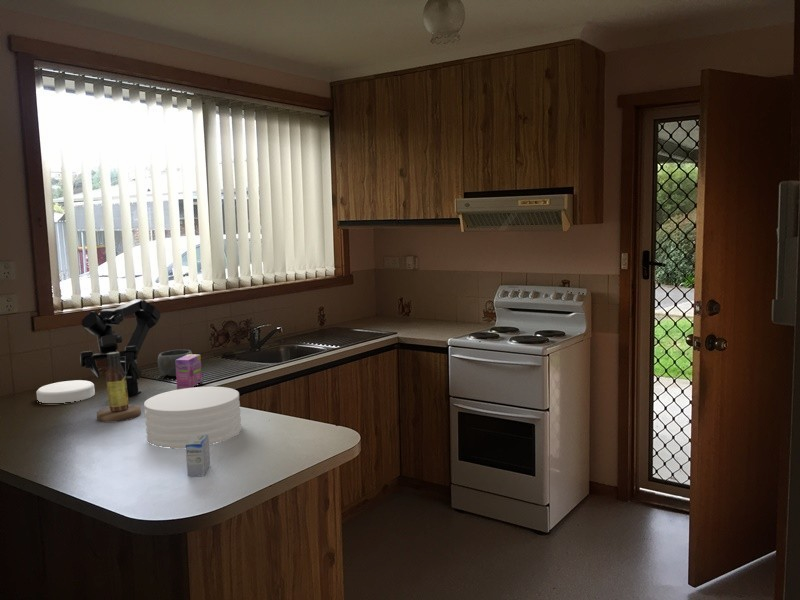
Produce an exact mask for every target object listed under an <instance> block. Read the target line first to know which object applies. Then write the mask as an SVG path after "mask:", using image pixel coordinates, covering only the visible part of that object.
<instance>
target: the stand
mask: <svg viewBox="0 0 800 600" xmlns="http://www.w3.org/2000/svg"><path fill="white" fill-rule="evenodd" d="M141 409H142V408H141V406H140V405H138V404H128V409H126V410H124V411H119V412H112V411H110V407H109V406H108V407H105V408H101V409H99V410H97V411H96V419H98V420H100V421H99V422H102V421H117V422H123V421H122V420H124V421H127V419H128V420H132V419H135V418H137V417H139V416H141V414H142V410H141ZM134 417H135V418H134ZM131 418H132V419H131ZM98 420H97V421H98Z"/></svg>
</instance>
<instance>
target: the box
mask: <svg viewBox="0 0 800 600" xmlns="http://www.w3.org/2000/svg"><path fill="white" fill-rule="evenodd" d="M201 359H202V358H201V354H198V353H197V354H196V353H195V354H188V355H186V356H183V357H181V358H179V359H176V360H175V364H176V376H175V377H176V390H179V389H185V388H193V387H194V386H195V385H197V384H198V383H200V382H202V383H203V375H202V361H201ZM200 384H201V383H200ZM198 385H199V384H198ZM198 385H197V386H198ZM195 387H196V386H195Z"/></svg>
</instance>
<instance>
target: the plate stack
mask: <svg viewBox="0 0 800 600" xmlns="http://www.w3.org/2000/svg"><path fill="white" fill-rule="evenodd" d="M240 402H241V401H240V392H239V391H238V390H236V389H235V388H231V387H225V386H197V387H196V386H195V387H193V388H185V389H174V390H169V391H166V392H161V393H159V394H155V395H154V396H150V397H149V398H148V399H146V400H145V401H144V403H143V404H144V405H143V407H144V417H145V426H146V428H145V433H146V440H147V441H148V442H149V443H151V444H154V445H156V446H162V447H170V448H186V444H187V443H188V441H189V440H190V438H191V437H192V436H193V435H208V438H209V444H213V443H216V442H220V441H223V440H226V439H229V438H231V437H233V436H235V435H236V436H238V435H239V434H240V433H241V432H242V418H241V408H240V407H241V403H240ZM240 431H241V432H240ZM239 432H240V433H239ZM238 433H239V434H238ZM237 434H238V435H237ZM236 436H235V437H236ZM233 438H234V437H233ZM231 439H232V438H231ZM229 440H230V439H229ZM147 441H146V442H147ZM226 441H227V440H226ZM148 442H147V443H148ZM223 442H224V441H223ZM149 443H148V444H149ZM220 443H221V442H220ZM213 445H214V444H213Z"/></svg>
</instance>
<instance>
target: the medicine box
mask: <svg viewBox="0 0 800 600" xmlns="http://www.w3.org/2000/svg"><path fill="white" fill-rule="evenodd" d="M210 455H211V454H210V445H209V438H208V435H193V436H192V437H191V438H190V440H189V441H188V443H187V444H186V449H185V457H186V459H185V460H186V471H187V477H188V476H195V477H199V476H198V475H204V476H206V473H207V471H208V469H209V467H210V465H211V457H210Z"/></svg>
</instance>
